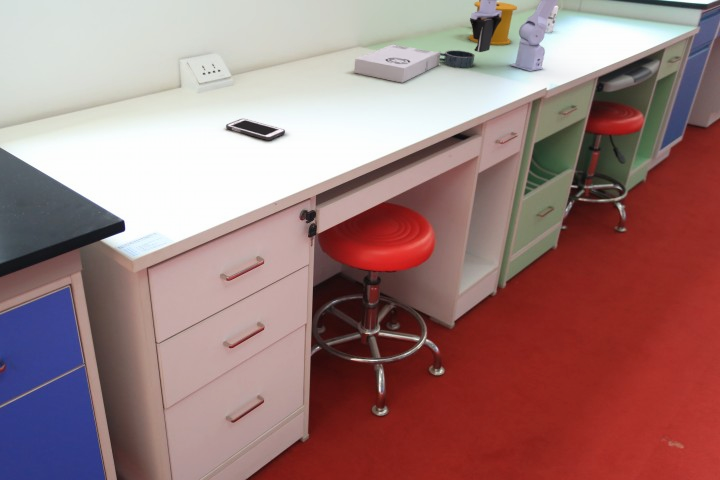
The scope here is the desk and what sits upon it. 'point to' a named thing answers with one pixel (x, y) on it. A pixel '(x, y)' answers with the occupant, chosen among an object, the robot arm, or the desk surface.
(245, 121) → the cell phone
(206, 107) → the desk surface
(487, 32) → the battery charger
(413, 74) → the power supply unit
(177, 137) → the desk surface
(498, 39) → the spool
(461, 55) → the gray segmented ring
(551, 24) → the ink box
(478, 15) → the robot arm
